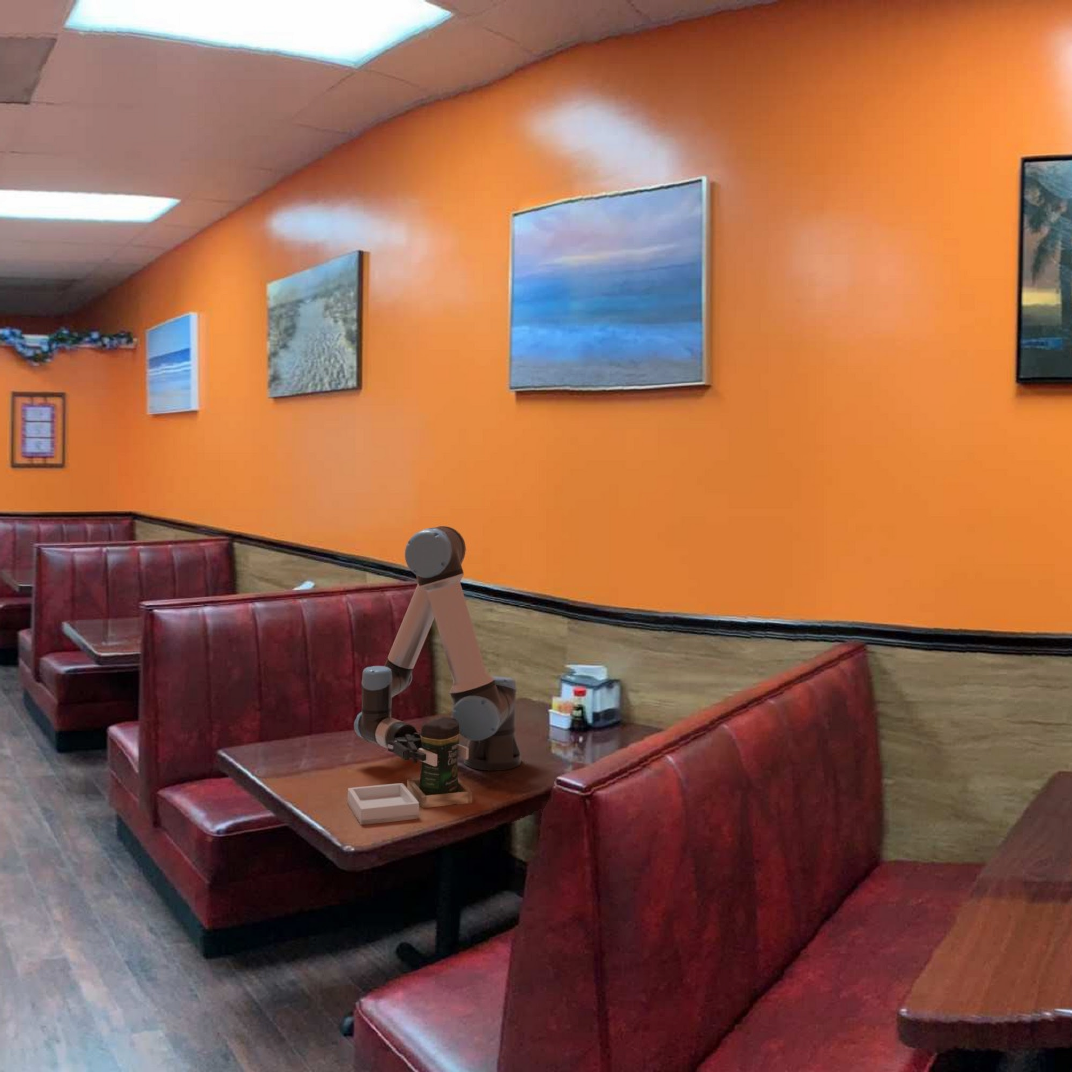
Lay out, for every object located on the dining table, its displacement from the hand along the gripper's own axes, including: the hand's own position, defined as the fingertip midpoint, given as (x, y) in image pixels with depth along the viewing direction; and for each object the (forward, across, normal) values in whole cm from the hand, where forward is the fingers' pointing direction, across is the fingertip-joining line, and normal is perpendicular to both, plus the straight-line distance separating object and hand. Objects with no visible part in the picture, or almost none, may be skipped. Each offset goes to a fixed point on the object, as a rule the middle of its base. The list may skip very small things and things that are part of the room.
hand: (451, 757), depth 237 cm
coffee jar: (-5, 0, -11) cm, 12 cm away
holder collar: (-5, 0, -10) cm, 11 cm away
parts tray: (-4, +16, -10) cm, 20 cm away
